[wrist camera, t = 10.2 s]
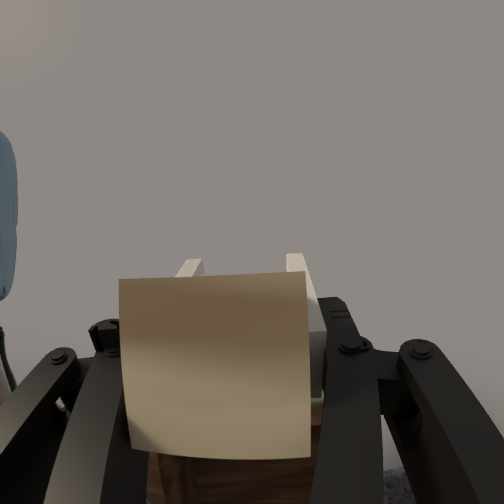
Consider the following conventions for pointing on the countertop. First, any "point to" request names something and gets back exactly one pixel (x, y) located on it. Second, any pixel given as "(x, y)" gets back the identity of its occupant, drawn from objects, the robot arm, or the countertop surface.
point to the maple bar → (217, 365)
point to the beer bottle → (6, 363)
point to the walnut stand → (234, 476)
